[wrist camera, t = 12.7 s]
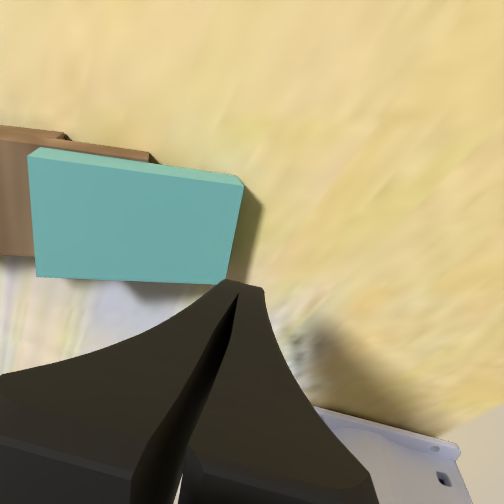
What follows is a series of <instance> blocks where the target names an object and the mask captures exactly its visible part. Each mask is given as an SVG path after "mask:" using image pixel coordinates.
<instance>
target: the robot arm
mask: <svg viewBox="0 0 504 504" xmlns="http://www.w3.org/2000/svg"><path fill="white" fill-rule="evenodd" d="M264 293H265V292H264V290H263V289H262V288H260V287H256V286H252V285H248V284H244V283H240V282H236V281H231V280H227V279H224V280H222V281H220V282H219V283H218V284H217V285H216V286H215V287H213V288H212V289H211V290H210V291H208V292H207V293H206V294H205V295H203V296H202V297H201V298H199V299H198V300H197V301H195V302H194V303H192V304H191V305H190V306H188V307H187V308H185V309H184V310H182V311H181V312H179V313H177V314H176V315H174V316H173V317H171V318H169V319H168V320H166V321H164V322H162V323H161V324H159V325H157V326H155V327H153V328H151V329H149V330H147V331H145V332H143V333H141V334H139V335H137V336H134V337H131V338H129V339H126V340H124V341H121V342H119V343H116V344H114V345H111V346H109V347H106V348H103V349H100V350H97V351H94V352H91V353H88V354H85V355H81V356H78V357H74V358H71V359H67V360H64V361H60V362H56V363H52V364H47V365H43V366H38V367H34V368H29V369H25V370H21V371H16V372H11V373H6V374H2V375H1V376H0V504H173V502H174V499H175V496H176V493H177V490H178V486H179V483H180V480H181V477H182V482H181V488H180V494H179V500H178V504H473V503H472V500H471V498H470V495H469V493H468V491H467V488H466V486H465V484H464V481H463V479H462V476H461V474H460V472H459V469H458V467H457V465H456V462H455V461H456V460H457V459H458V457H459V456H460V454H461V451H460V449H459V447H458V445H457V444H455V443H452V442H449V441H445V440H441V439H437V438H433V437H430V436H426V435H422V434H418V433H414V432H411V431H407V430H403V429H399V428H395V427H391V426H388V425H384V424H380V423H376V422H372V421H369V420H365V419H361V418H357V417H353V416H350V415H346V414H342V413H338V412H334V411H331V410H327V409H323V408H319V407H315V406H312V404H311V403H310V401H309V400H308V399H307V397H306V396H305V394H304V393H303V391H302V390H301V388H300V386H299V385H298V383H297V381H296V380H295V378H294V376H293V374H292V373H291V371H290V369H289V367H288V365H287V363H286V361H285V359H284V357H283V355H282V352H281V350H280V348H279V345H278V343H277V341H276V338H275V335H274V333H273V330H272V326H271V323H270V320H269V317H268V313H267V309H266V304H265V296H264ZM182 473H183V476H182Z"/></svg>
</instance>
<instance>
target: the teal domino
mask: <svg viewBox="0 0 504 504" xmlns="http://www.w3.org/2000/svg"><path fill="white" fill-rule="evenodd" d="M27 162H28V175H29V187H30V200H31V213H32V226H33V239H34V252H35V265H36V277H49V278H72V279H96V280H120V281H144V282H168V283H191V284H215V285H217V284H218V283H219V282H220V281H222V280H224V279H226V274H227V269H228V264H229V259H230V254H231V249H232V244H233V239H234V234H235V229H236V224H237V219H238V214H239V209H240V205H241V200H242V195H243V190H244V185H243V184H242V182H241V181H240V180H239V178H238V177H237V176H235V175H228V174H221V173H214V172H208V171H201V170H194V169H187V168H180V167H174V166H167V165H160V164H153V163H146V162H139V161H133V160H126V159H119V158H112V157H105V156H99V155H92V154H85V153H78V152H71V151H65V150H58V149H51V148H44V147H39V148H38V149H37V150H35V151H34V152H32V153H31V154H29V155H28V156H27Z"/></svg>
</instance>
